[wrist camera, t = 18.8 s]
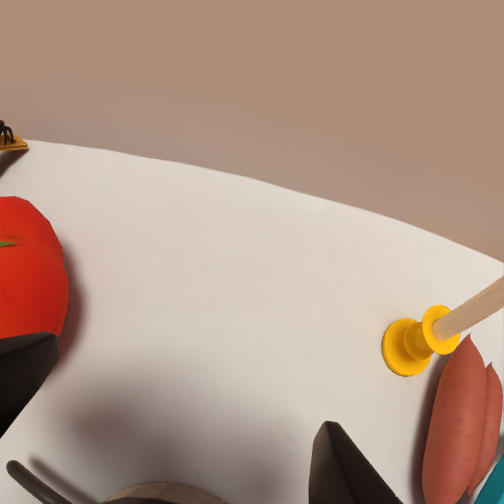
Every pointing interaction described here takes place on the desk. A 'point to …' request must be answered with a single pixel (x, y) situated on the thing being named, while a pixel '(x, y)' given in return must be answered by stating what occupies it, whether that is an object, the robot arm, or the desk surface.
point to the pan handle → (34, 484)
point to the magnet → (493, 486)
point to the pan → (162, 495)
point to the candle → (436, 331)
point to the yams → (462, 427)
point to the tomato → (30, 272)
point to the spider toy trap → (10, 139)
